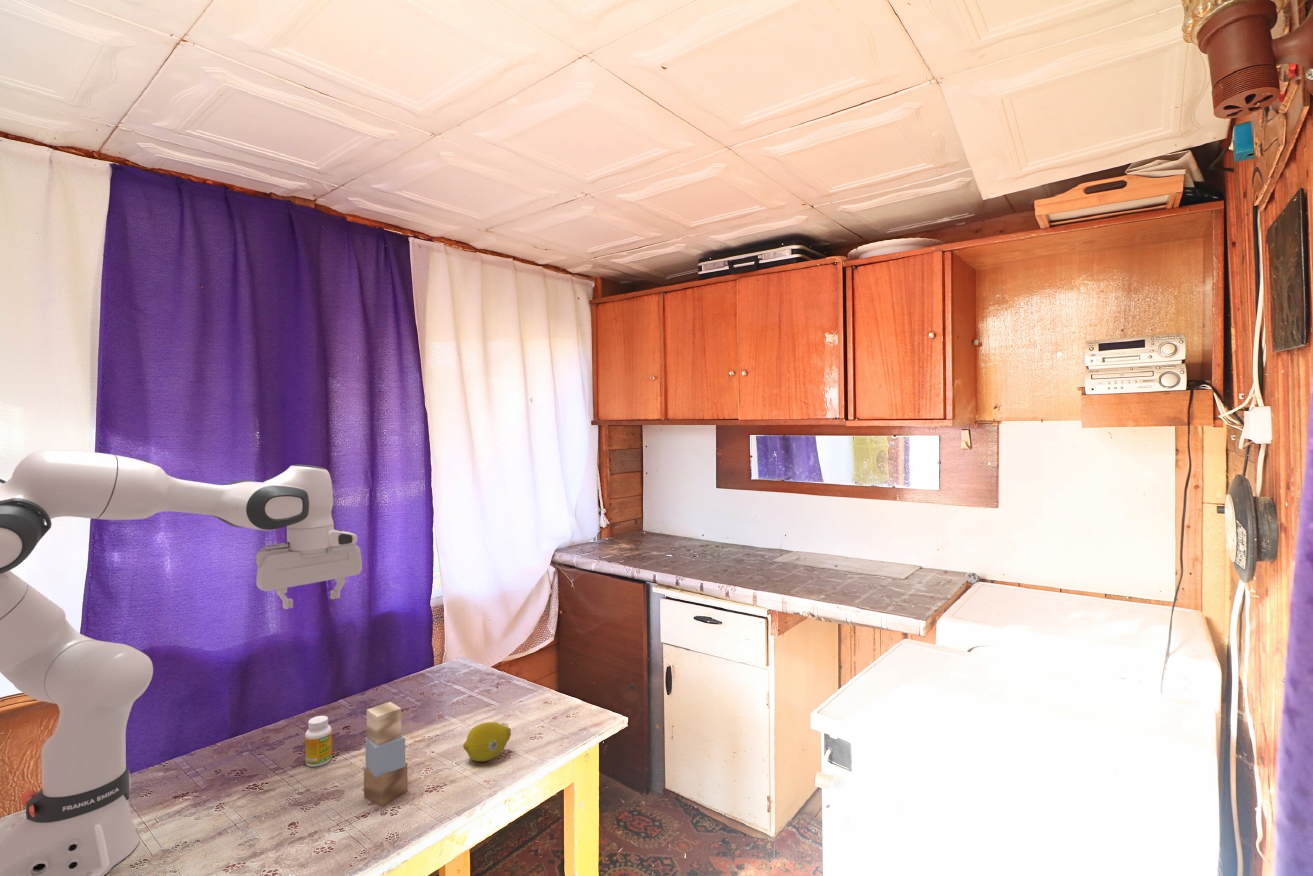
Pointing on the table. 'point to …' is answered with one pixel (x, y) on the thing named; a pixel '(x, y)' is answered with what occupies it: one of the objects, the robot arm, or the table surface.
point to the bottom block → (385, 785)
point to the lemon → (486, 741)
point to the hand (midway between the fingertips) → (312, 603)
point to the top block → (385, 756)
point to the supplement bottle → (318, 742)
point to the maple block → (384, 723)
